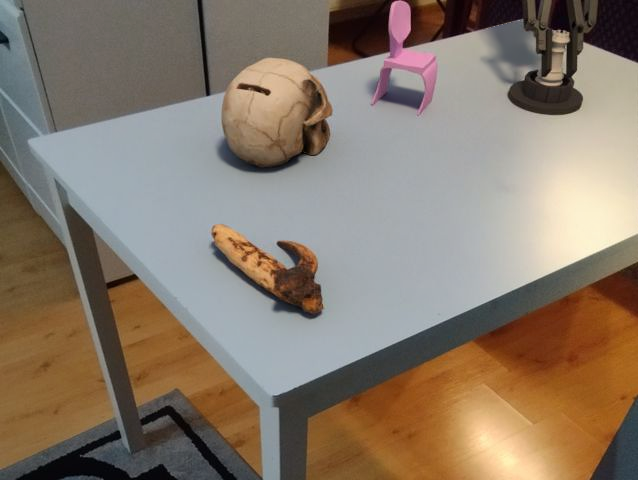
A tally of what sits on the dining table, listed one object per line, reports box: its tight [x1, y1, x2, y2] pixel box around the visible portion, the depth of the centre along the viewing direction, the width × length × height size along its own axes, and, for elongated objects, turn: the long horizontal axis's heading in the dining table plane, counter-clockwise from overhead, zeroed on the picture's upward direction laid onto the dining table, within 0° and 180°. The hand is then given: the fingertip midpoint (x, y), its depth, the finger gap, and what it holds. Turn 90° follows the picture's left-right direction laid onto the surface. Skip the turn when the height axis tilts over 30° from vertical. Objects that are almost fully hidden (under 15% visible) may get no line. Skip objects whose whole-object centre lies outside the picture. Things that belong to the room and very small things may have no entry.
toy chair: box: [370, 0, 439, 116], centre depth 106 cm, size 8×9×15 cm
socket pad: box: [507, 69, 584, 116], centre depth 113 cm, size 12×12×4 cm
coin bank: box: [220, 57, 334, 168], centre depth 95 cm, size 16×17×13 cm
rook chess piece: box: [535, 29, 570, 86], centre depth 109 cm, size 4×4×8 cm
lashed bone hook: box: [211, 223, 325, 315], centre depth 76 cm, size 9×5×18 cm
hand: (559, 73), depth 107 cm, fingers closed on rook chess piece, 3 cm apart
